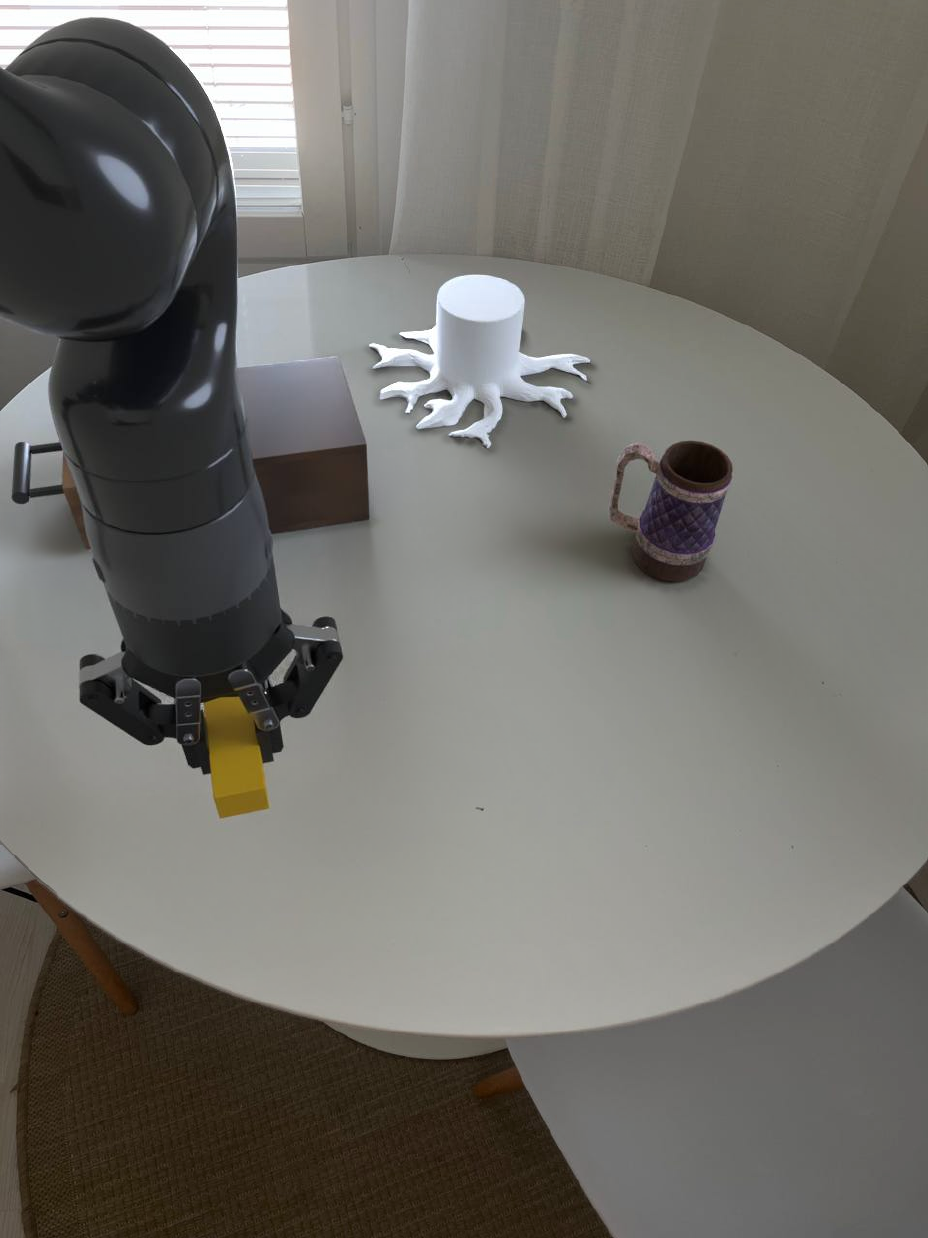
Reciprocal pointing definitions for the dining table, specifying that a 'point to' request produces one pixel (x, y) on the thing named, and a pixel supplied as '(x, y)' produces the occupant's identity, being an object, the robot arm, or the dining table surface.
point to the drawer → (24, 493)
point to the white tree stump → (475, 356)
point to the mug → (675, 507)
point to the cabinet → (306, 443)
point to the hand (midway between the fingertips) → (236, 754)
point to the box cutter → (234, 758)
